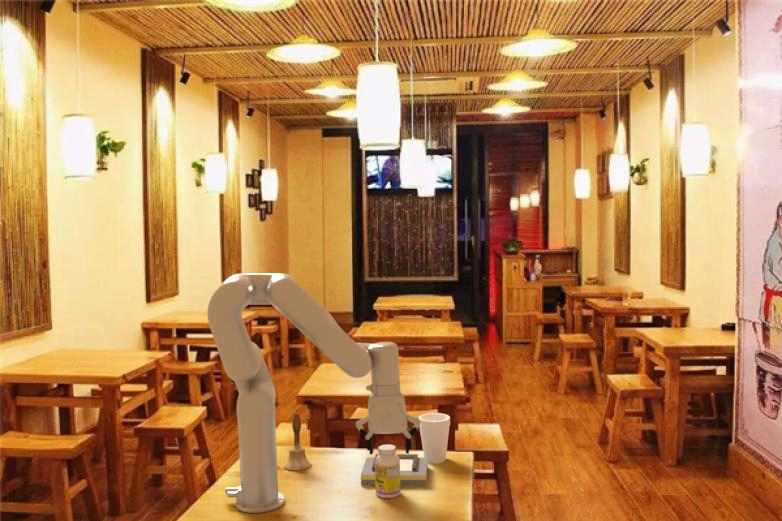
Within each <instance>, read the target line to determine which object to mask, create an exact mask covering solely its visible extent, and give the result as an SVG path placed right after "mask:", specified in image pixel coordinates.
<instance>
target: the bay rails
mask: <svg viewBox="0 0 782 521" xmlns="http://www.w3.org/2000/svg"><path fill="white" fill-rule="evenodd" d="M378 455H379V453H378V454H377V453H376V454H375V456H374V457H375V459H376V457H377V456H378ZM395 455H397V456H398V457H399V459H413V464H412V471H416V470H417V462H418V458H419V454H418V453H415V454H412V453H411V454H410V453H409V454H407V453H405V454H404V453H402V454H401V453H400V454H399V453H398V454H396V453H395ZM375 459H374V462H373V466H372V471H375Z"/></svg>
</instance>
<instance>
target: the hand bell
mask: <svg viewBox="0 0 782 521" xmlns="http://www.w3.org/2000/svg"><path fill="white" fill-rule="evenodd" d="M291 426H292V431H293V436H294V438H293V439H294V440H293V446H292V447H290V448H289V451H288V452H289V454H288V458H287V459H286V461H285V462H284V463H283V468H284V469H285V470H287V471H294V472H295V471H303V470H307V469H310V468H311V467H312V462H311V461H309V459H308V457H307V456H306V451H305V450H306V448H305V447H304V446H301V445H300V444H301V441H300V440H301V439H300V433H301V429H302V420H301V417H300V413H299V412H295V413H294V414H293V418H292V425H291Z"/></svg>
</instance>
